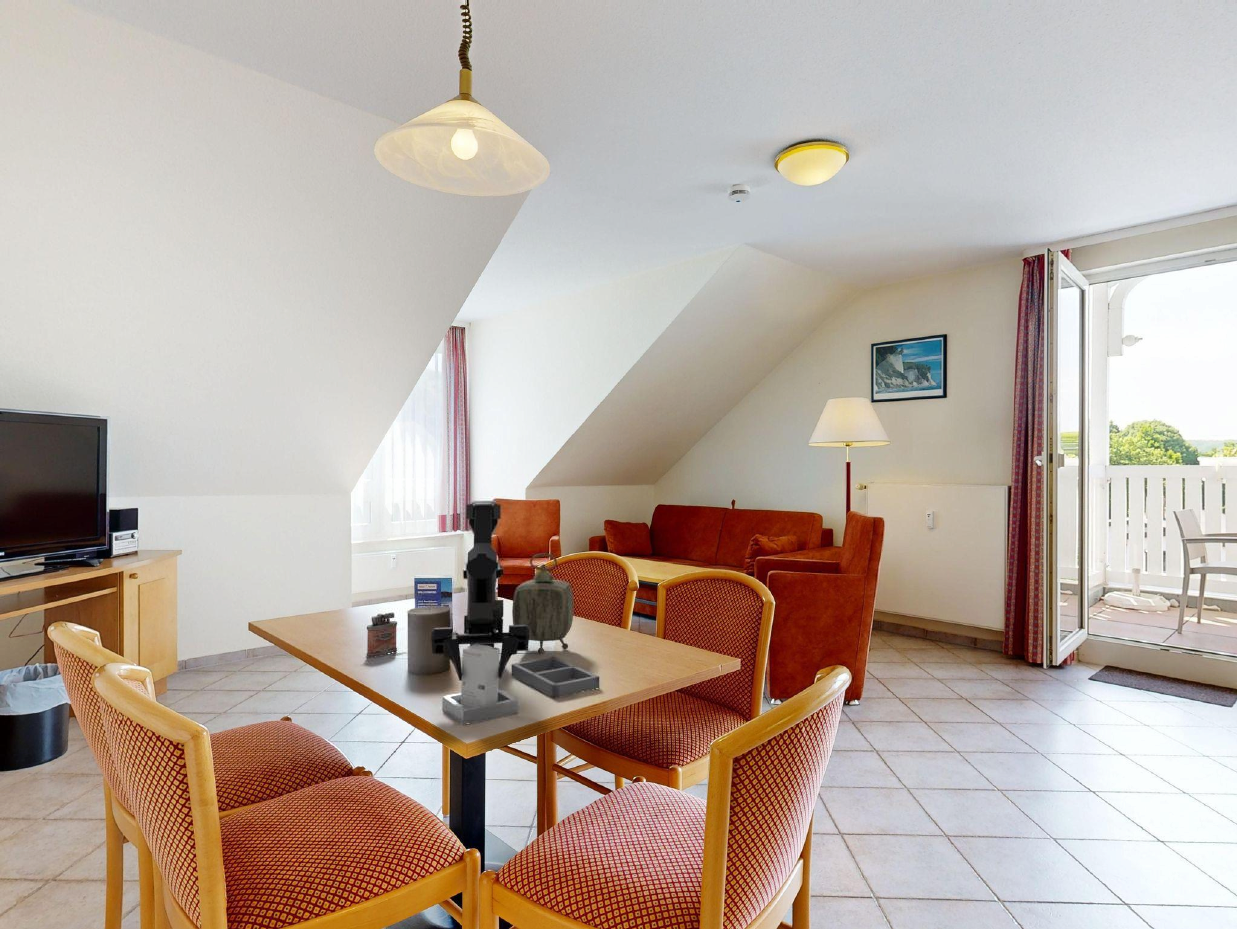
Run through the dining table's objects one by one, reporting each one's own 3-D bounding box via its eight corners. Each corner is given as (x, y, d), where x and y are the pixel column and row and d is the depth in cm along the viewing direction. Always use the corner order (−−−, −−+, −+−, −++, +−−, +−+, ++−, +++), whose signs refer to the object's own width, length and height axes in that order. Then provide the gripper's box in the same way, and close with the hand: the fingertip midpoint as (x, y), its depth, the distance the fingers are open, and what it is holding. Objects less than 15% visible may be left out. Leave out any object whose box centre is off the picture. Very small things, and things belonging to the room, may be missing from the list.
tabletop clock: (573, 648, 177) (574, 552, 177) (567, 657, 168) (568, 556, 168) (518, 646, 179) (519, 551, 179) (509, 655, 170) (510, 555, 170)
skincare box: (459, 712, 130) (460, 648, 130) (475, 705, 134) (475, 643, 134) (484, 718, 127) (485, 652, 127) (499, 710, 130) (500, 647, 131)
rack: (511, 675, 153) (511, 664, 153) (553, 667, 160) (553, 656, 160) (554, 698, 138) (554, 685, 138) (599, 688, 144) (599, 676, 144)
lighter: (371, 658, 166) (371, 617, 166) (363, 656, 168) (364, 615, 169) (399, 651, 173) (400, 612, 173) (391, 649, 175) (392, 610, 175)
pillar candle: (458, 664, 161) (458, 601, 162) (436, 676, 152) (436, 608, 152) (421, 662, 164) (421, 599, 164) (398, 673, 155) (398, 606, 155)
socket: (442, 709, 131) (442, 696, 131) (494, 698, 137) (495, 686, 137) (463, 725, 123) (463, 711, 123) (517, 713, 129) (518, 699, 129)
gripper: (432, 586, 133) (426, 658, 122) (529, 584, 136) (532, 654, 125) (435, 618, 140) (430, 689, 129) (526, 615, 144) (529, 684, 133)
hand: (480, 678), depth 129 cm, fingers closed on skincare box, 7 cm apart
